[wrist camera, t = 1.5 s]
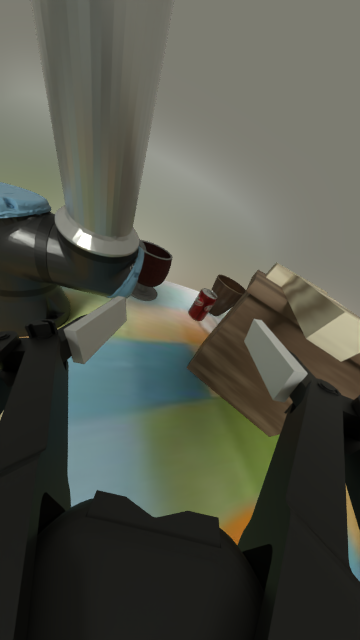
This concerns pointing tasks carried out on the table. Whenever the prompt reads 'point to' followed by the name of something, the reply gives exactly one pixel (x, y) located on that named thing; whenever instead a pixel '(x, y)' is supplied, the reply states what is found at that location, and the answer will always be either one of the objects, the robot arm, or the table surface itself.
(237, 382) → the wooden block with lid
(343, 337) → the cream flat bar
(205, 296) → the soda can
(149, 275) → the mate gourd
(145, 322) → the table surface
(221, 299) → the plant pot
